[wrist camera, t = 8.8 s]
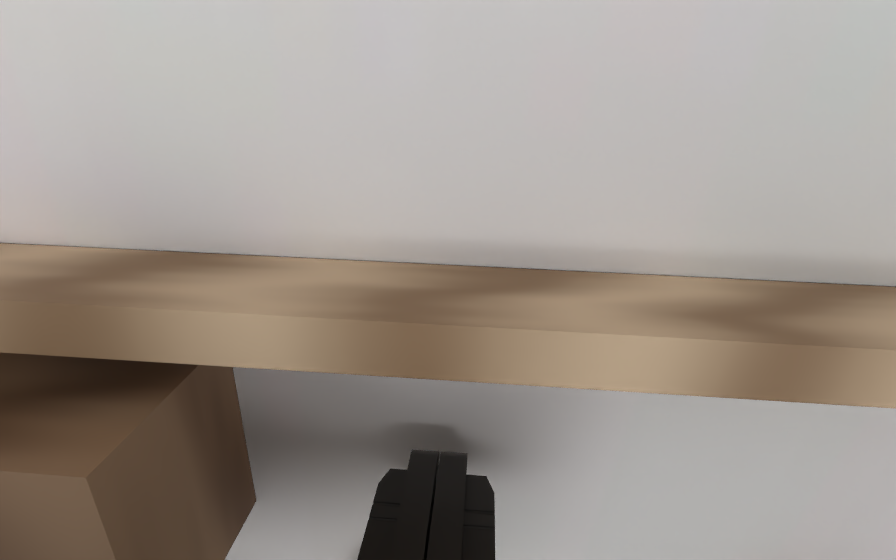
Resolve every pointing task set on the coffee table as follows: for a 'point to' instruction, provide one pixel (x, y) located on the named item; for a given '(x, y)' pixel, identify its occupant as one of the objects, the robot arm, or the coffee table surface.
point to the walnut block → (120, 460)
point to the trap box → (455, 323)
